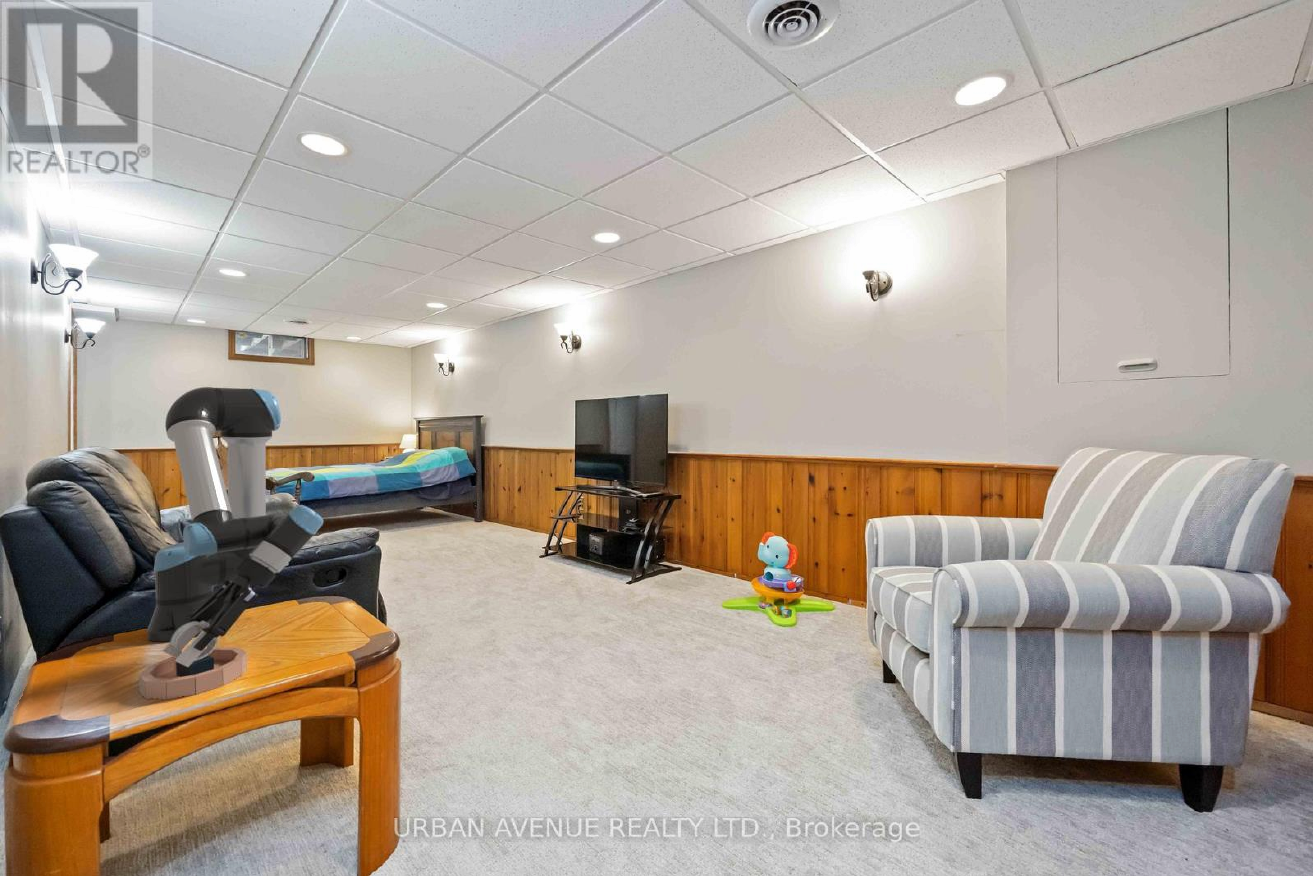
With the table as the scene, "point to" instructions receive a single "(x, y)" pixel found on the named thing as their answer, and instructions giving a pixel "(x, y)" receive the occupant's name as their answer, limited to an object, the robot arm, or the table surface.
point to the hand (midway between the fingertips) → (174, 658)
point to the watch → (203, 660)
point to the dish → (168, 685)
